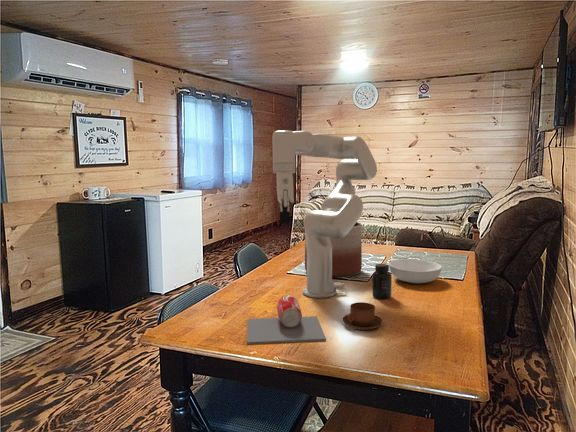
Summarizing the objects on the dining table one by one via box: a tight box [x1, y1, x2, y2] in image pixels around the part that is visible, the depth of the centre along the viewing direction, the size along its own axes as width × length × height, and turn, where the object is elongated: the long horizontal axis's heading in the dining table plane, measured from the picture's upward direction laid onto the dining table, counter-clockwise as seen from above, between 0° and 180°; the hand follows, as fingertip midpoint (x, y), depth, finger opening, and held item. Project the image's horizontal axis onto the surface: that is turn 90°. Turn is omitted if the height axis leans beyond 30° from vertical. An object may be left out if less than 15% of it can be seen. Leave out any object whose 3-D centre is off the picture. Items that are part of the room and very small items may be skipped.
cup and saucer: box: [342, 301, 383, 331], centre depth 134 cm, size 12×12×6 cm
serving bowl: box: [388, 258, 443, 285], centre depth 183 cm, size 21×21×7 cm
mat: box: [246, 315, 327, 345], centre depth 131 cm, size 22×18×1 cm
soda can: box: [276, 294, 303, 327], centre depth 135 cm, size 7×7×12 cm
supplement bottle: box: [372, 263, 393, 300], centre depth 161 cm, size 7×7×12 cm
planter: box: [304, 221, 363, 279], centre depth 197 cm, size 25×25×22 cm
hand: (284, 223), depth 148 cm, fingers closed
